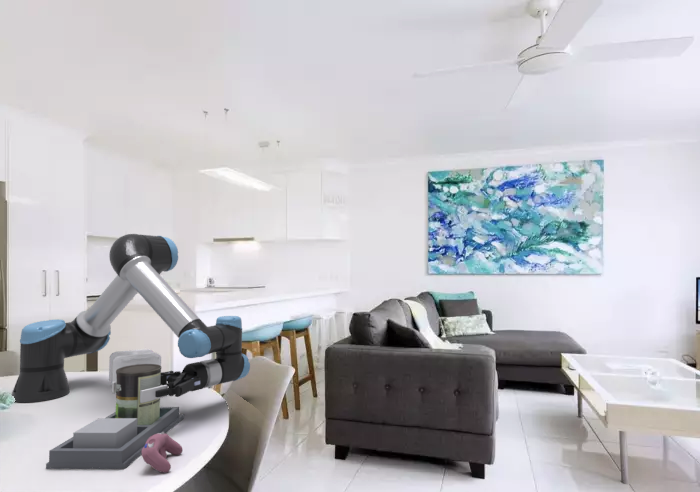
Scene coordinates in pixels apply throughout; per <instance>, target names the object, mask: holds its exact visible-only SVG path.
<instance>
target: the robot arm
mask: <svg viewBox="0 0 700 492" xmlns="http://www.w3.org/2000/svg"><path fill="white" fill-rule="evenodd" d="M108 257H109V262H110V265H111V267H112V268H113V270H114V272H115V274H116V276H115V278H113V280H112V281H111V282H110V284H109V285H107V287H106V288H105V289H104V290H103V292H102V293H101V294H100V295H99V297H98V298H97V299H96V300H95V301H94V302H93V303H92V305H91V306H90V307H89V308H88V310H82V311H81V312H79V313H78V314H77V316H76V317H75V318H74V319H73V320H72V321H69V322H66V321H65V320H63V319H49V320H40V321H37V322H33V323H29V324H27V325H24V326H23V328H22V329H21V333H20V339H19V342H20V346H19V347H20V351H19V353H20V355H19V373H18V377H17V380H16V383H15V384H14V387H13V390H12V392H11V397H12V396H14V398H15V400H16V402H15V403H35V402H43V401H44V402H45V401H50V400H54V399H58V398H61V397H64V396H67V395H68V394H69V393H70V390H71V389H70V388H71V386H70V383H69V381H68V377H67V374H66V371H65V359H68V358H71V357H72V358H73V357H77V356H82V355H90V354H93V353H96V352H99V351H101V350H103V349H104V348H105V347H106V346H107V345H108V343H109V341H110V339H111V338H110V336H111V333H112V332H111V326H112V325H111V324H112V323H113V322H114V321H115V320H116V318H118V316H119V315H120V313H122V311H123V310H124V309H125V308H126V307H127V306H128V304H129V303H131V301H132V300H133V299H134V298H135V296H136V295H137V294H139V295H140V296H141V297H142V298H143V299H144V301H146V303H147V304H148V305H149V306H150V307H151V309H152V310H153V311H154V312H155V313H156V314H157V316H159V318H160V319H161V321H163V322H164V323H165V325H166V326H167V327H168V328H169V329H170V330H171V331H172V332H173V334H174V335H175V336H176V337H177V338H178V340H177V347H178V350H179V353H180V354H181V356H183V357H184V358H187V359H197V358H201V357H205V356H206V355H210V354H213V353H215V358H210V359H205V360H201V361H197V362H196V361H195V362H191V363H187V364H186V365H185V366H184V368H183V369H182V371H180V370H177V371H176V370H175V371H174V370H170V371H163V372H162V371H161V382H160V386H159V387H154V388H150V389H146V390H141V391H140V402H141V403H143V402H147V401H151V400H155V399H159V398H160V399H162V398H167V397H168V396H169V397H173V396H174V397H176V398H180V397H181V396H183V395H185V394H187V393H189V392H195V391H199V390H202V389H206V388H208V389H212V387H213V386H219V385H222V384H227V383H231V382H235V381H238V380H241V379H243V378H246V376H247V375H248V374H249V372H250V369H251V364H250V363H251V362H250V361H249V360H250V359H249V357H248V356H247V354H244V353H243V352H242V351H243V349H242V344H243V324H242V318H241V317H240V316H239V315H238V316H237V315H223V316H218V317H217V318H216V319H215V322H216V323H215V325H210V326H207V325H206V324H205V323H204V321H202V319H200V317H199V316H198V315H197V314H196V313H195V311H193V310H192V309H191V307H190V306H189V305H188V304H187V303H186V302H185V301H184V300H183V299H182V297H181V296H180V295H179V294H178V293H177V292H176V291H175V290H174V289H173V288H172V287H171V285H170V284H169V283H168V282H167V281H166V280H165V279H164V278H163V277H162V276H161V274H162V273H163V272H169V271H172V270H173V269H175V267H176V266H177V264H178V261H179V251H178V246H177V245H176V243H175V242H174V240H172V239H171V238H169V237H167V236H162V235H150V234H149V235H148V234H140V233H139V234H137V233H130V234H129V233H128V234H124V235H122V236H120V237H119V238H117V239H115V241H114V242H113V243H112V245H111V247H110V250H109V256H108ZM111 394H116V382H112V384H111Z"/></svg>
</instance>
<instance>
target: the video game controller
mask: <svg viewBox="0 0 700 492" xmlns="http://www.w3.org/2000/svg"><path fill="white" fill-rule="evenodd" d="M167 453H169V454H171V455H175V456H177V455H178V456H180V455H182V453H183V447H182V445H181V444H180V443H179V442H178V441H176V440H174V439H173V438H172V437H171V436H170V435H169V434H168V433H166V434H164V432H162V433H157V434H154V435H152V436H151V437H149V439H148V440H147V441H146V444H145V447H143V448H142V454H141V456H142V457H141V458H142V459H143V461H144V462H145V463H146V464H147V465H149V466H150V467H151V468H153V469H154V470H156V471H157V472H160V473H169V472H170V471H171V468H172V465H171V463H170V461H169V460H168V459H167Z"/></svg>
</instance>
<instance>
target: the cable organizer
mask: <svg viewBox="0 0 700 492" xmlns="http://www.w3.org/2000/svg"><path fill="white" fill-rule="evenodd" d="M137 364H157V365H160V366H161V367H162V355H161V354H160V353H158V352H156V351H155V352H154V350H153V349H152V348H151V349H150V348H140V349H129V350H120V351H114V352H112V353H111V354H110V355H109V366H108V367H109V368H108V369H109V370H108V371H109V372H108V374H109V375H108V380H109V382H110V384H111V385H112V382H116V377H117V374H116V370H117V369H119V368H121V367H125V366H130V365H137Z"/></svg>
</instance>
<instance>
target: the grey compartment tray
mask: <svg viewBox="0 0 700 492" xmlns="http://www.w3.org/2000/svg"><path fill="white" fill-rule="evenodd" d="M115 416H116V411H115V412H113V413H111V414H109V415H108V416H106V417H99V418H96V419H95V420H93V421H92V422H90V423H88V424H86V425H84V426H83V427H81V428H79V429H78V430H76V431H75V432H73V433H72V434H73V435H72V437H70V438H68V439H67V440H65V441H63V442H62V443H60V444H58V445H56V446H55V447H53V448H51V449H50V450H48V451H49V455H48V462H46V463H45V469H49V470H50V469H54V470H55V469H56V470H59V469H61V470H64V469H65V470H68V469H72V470H75V469H78V470H80V469H81V470H83V469H84V470H85V469H86V470H87V469H88V470H89V469H91V470H92V469H93V470H122V469H123V470H125V469H127V468H128V467H129V466H130V465H131V464H132V463H133V462H135V461H136V459H138V458H140V456H142V448H143V447H145V444H146V441H147V440H148V439H149V437H151V436H152V435H154V434H157V433H162V432H164V434H168V432H170V431H171V430H172V429H173V428H174V427H176V425H178V424H179V423H180V422H181V421H182V420H183V419H184V418H185V414H184V413H182V414H180V406H160V418H159V419H158V420H157V421H155V422H154V423H153V424H151V425H137V420H138V418H115Z"/></svg>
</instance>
